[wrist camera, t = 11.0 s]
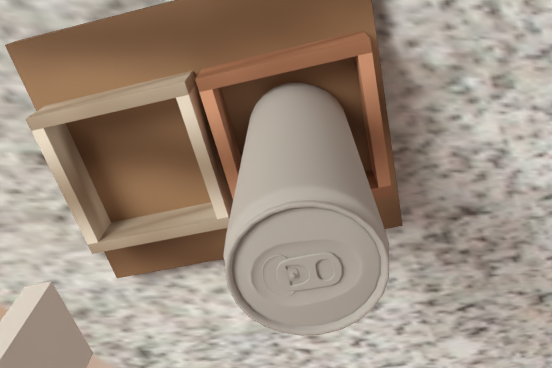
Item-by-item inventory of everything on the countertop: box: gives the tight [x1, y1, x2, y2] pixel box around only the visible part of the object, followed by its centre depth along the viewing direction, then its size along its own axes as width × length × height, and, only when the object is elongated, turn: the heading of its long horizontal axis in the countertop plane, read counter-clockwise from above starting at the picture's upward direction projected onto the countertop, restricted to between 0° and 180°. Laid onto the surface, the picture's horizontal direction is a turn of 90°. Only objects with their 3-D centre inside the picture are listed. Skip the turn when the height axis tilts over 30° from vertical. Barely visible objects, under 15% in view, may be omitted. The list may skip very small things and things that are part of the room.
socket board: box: [5, 0, 402, 278], centre depth 24 cm, size 14×17×3 cm
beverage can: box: [223, 82, 389, 335], centre depth 18 cm, size 5×5×12 cm
